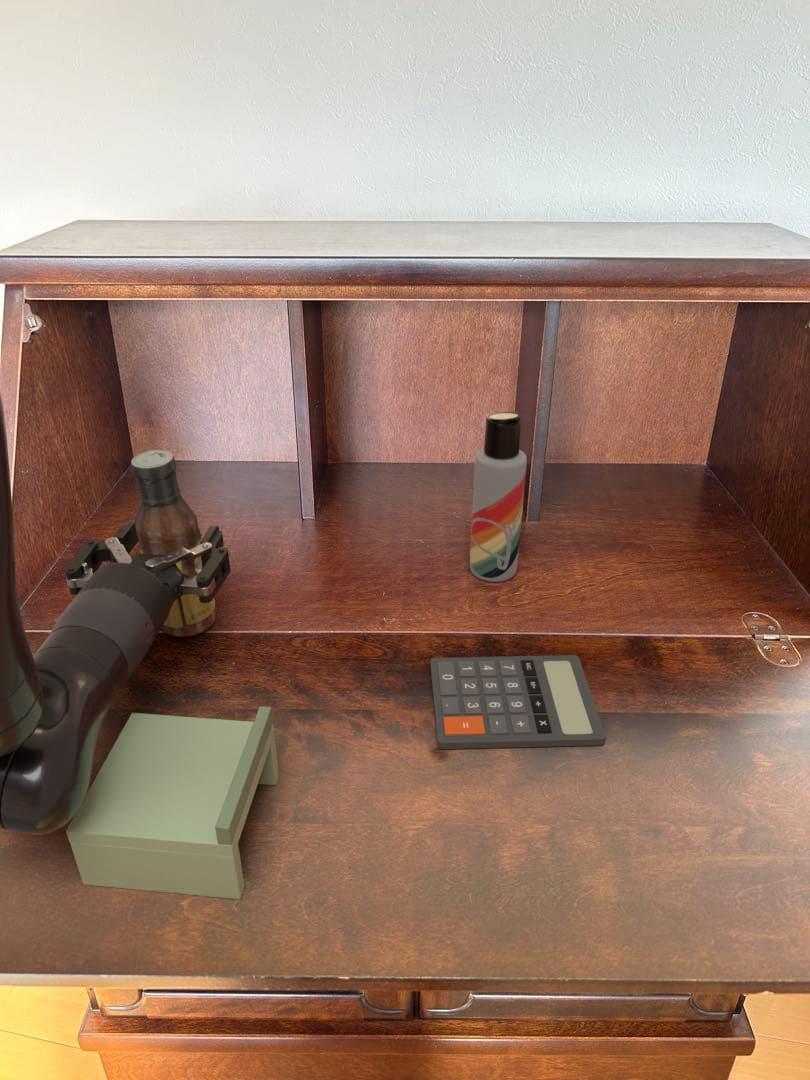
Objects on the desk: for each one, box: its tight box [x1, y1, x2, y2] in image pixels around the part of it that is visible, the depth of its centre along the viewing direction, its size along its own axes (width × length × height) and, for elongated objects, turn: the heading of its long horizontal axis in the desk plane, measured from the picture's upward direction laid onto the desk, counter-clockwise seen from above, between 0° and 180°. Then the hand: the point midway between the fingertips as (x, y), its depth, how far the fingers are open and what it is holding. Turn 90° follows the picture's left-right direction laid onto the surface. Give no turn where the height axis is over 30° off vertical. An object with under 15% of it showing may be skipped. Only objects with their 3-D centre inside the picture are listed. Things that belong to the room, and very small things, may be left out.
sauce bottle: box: [130, 449, 217, 638], centre depth 82 cm, size 7×6×20 cm
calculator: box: [429, 654, 607, 750], centre depth 76 cm, size 12×1×15 cm
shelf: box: [65, 706, 280, 900], centre depth 62 cm, size 12×12×8 cm
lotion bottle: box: [469, 411, 528, 583], centre depth 91 cm, size 6×6×20 cm
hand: (175, 530), depth 82 cm, fingers open, 8 cm apart
